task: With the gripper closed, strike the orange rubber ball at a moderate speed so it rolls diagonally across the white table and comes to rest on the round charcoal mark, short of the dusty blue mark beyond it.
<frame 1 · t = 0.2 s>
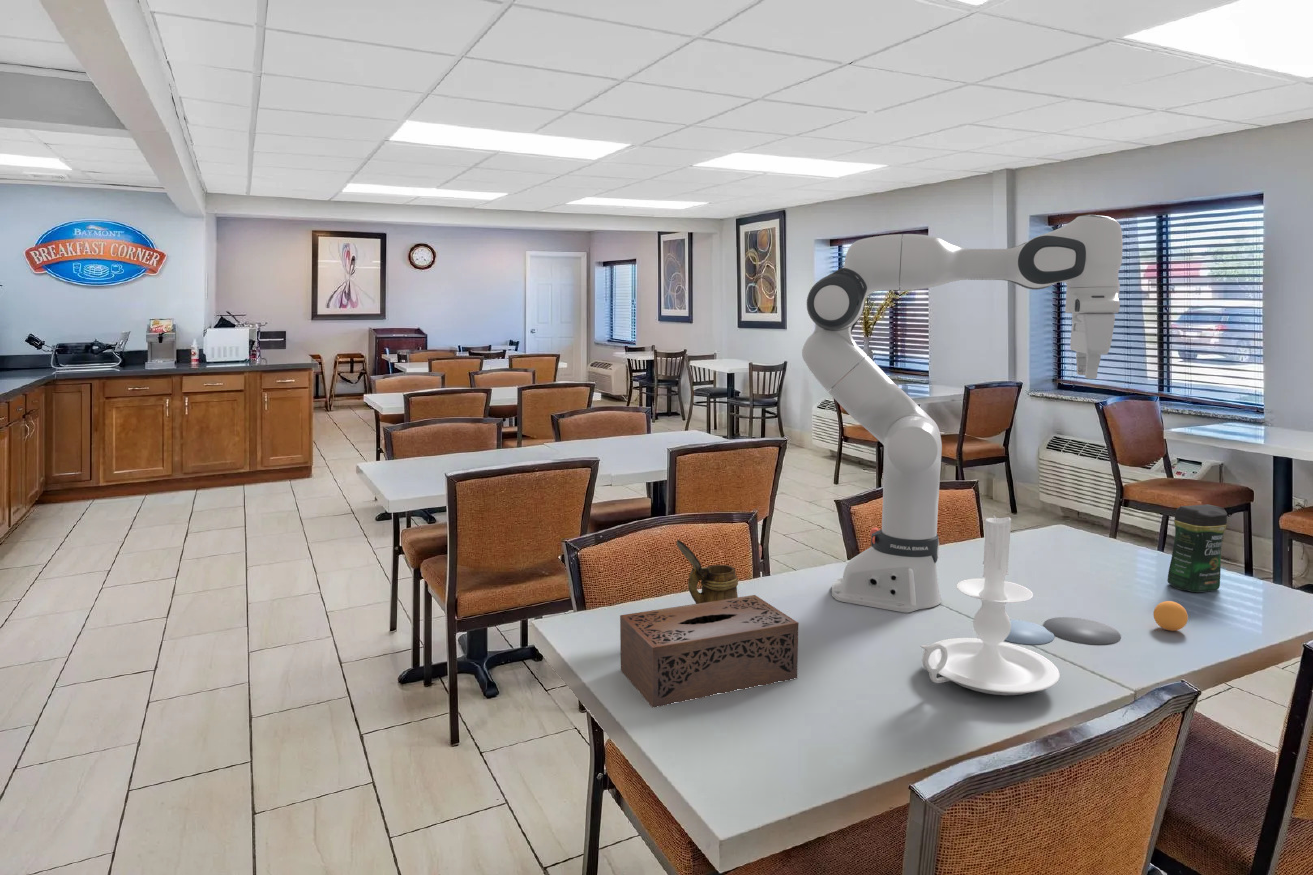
hand: (1086, 376, 154), 48 cm above the table, tool pointing down, fingers open, 8 cm apart
coffee jar: (1193, 588, 176), on the table
candlestick: (978, 684, 131), on the table
ball: (1170, 615, 152), on the table
tissue box cover: (707, 677, 134), on the table
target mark: (1081, 630, 152), on the table
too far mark: (1018, 631, 152), on the table
wooden mug: (708, 627, 155), on the table
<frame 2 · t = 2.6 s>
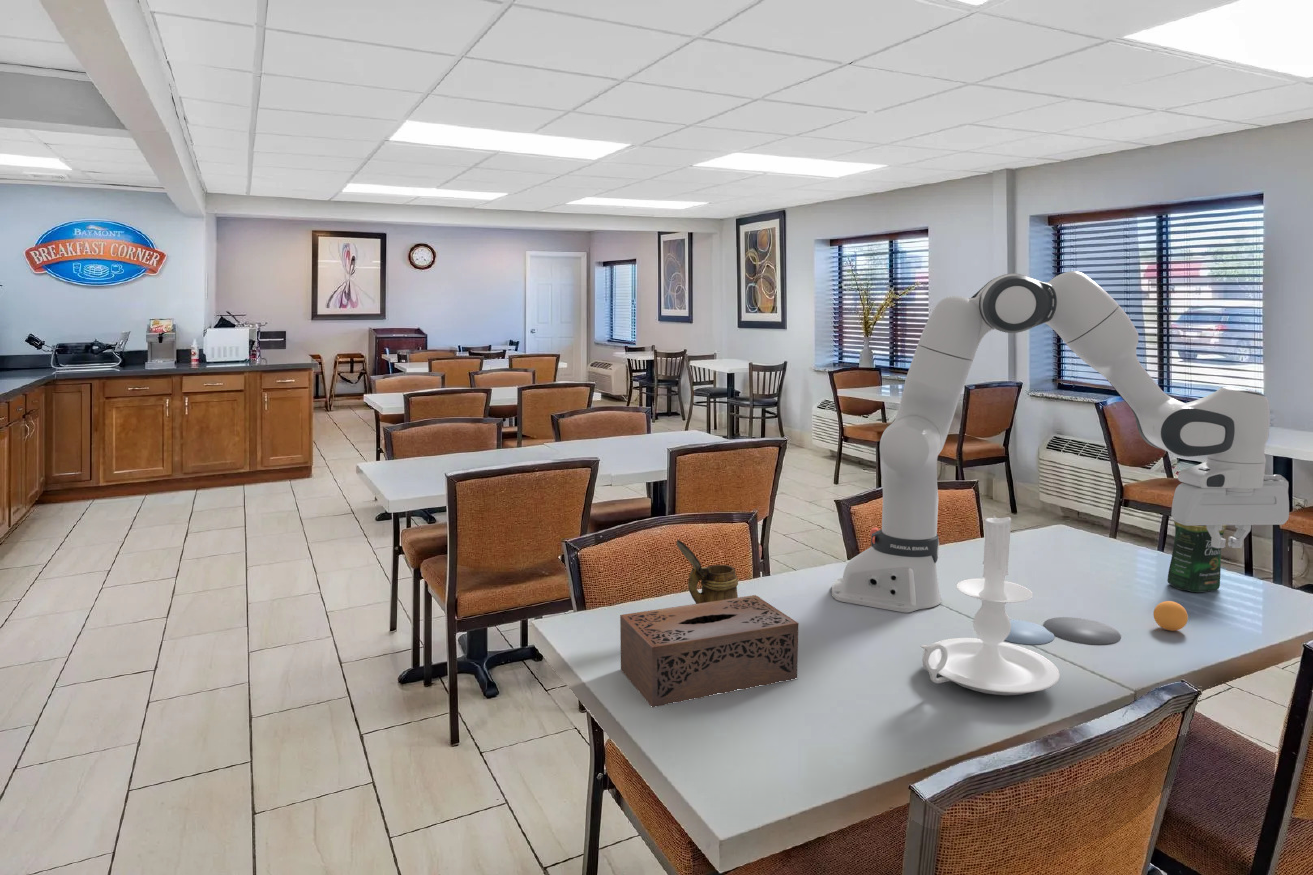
hand: (1226, 547, 150), 16 cm above the table, tool pointing down, fingers closed
nothing on the table moved.
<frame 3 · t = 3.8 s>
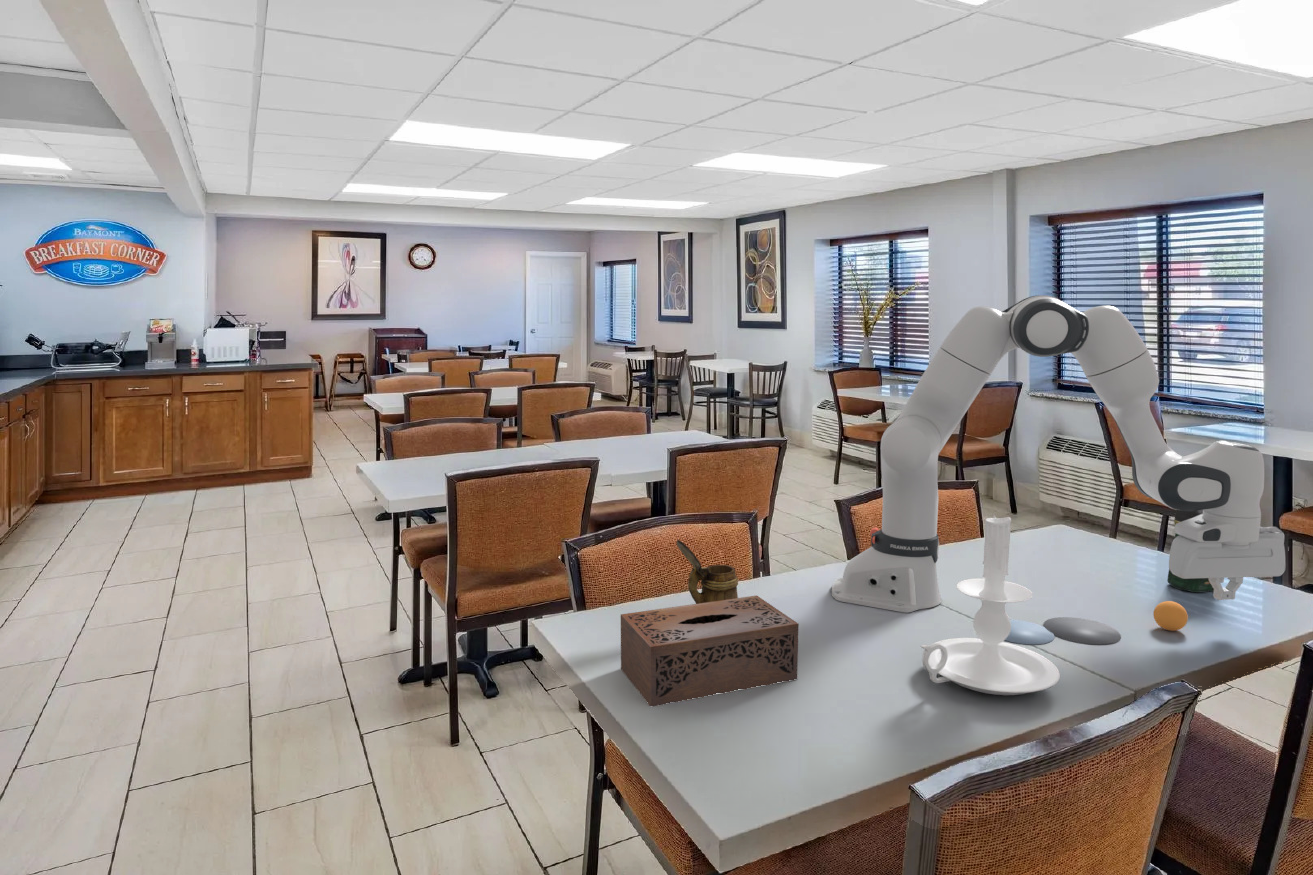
hand: (1223, 598, 152), 6 cm above the table, tool pointing down, fingers closed
nothing on the table moved.
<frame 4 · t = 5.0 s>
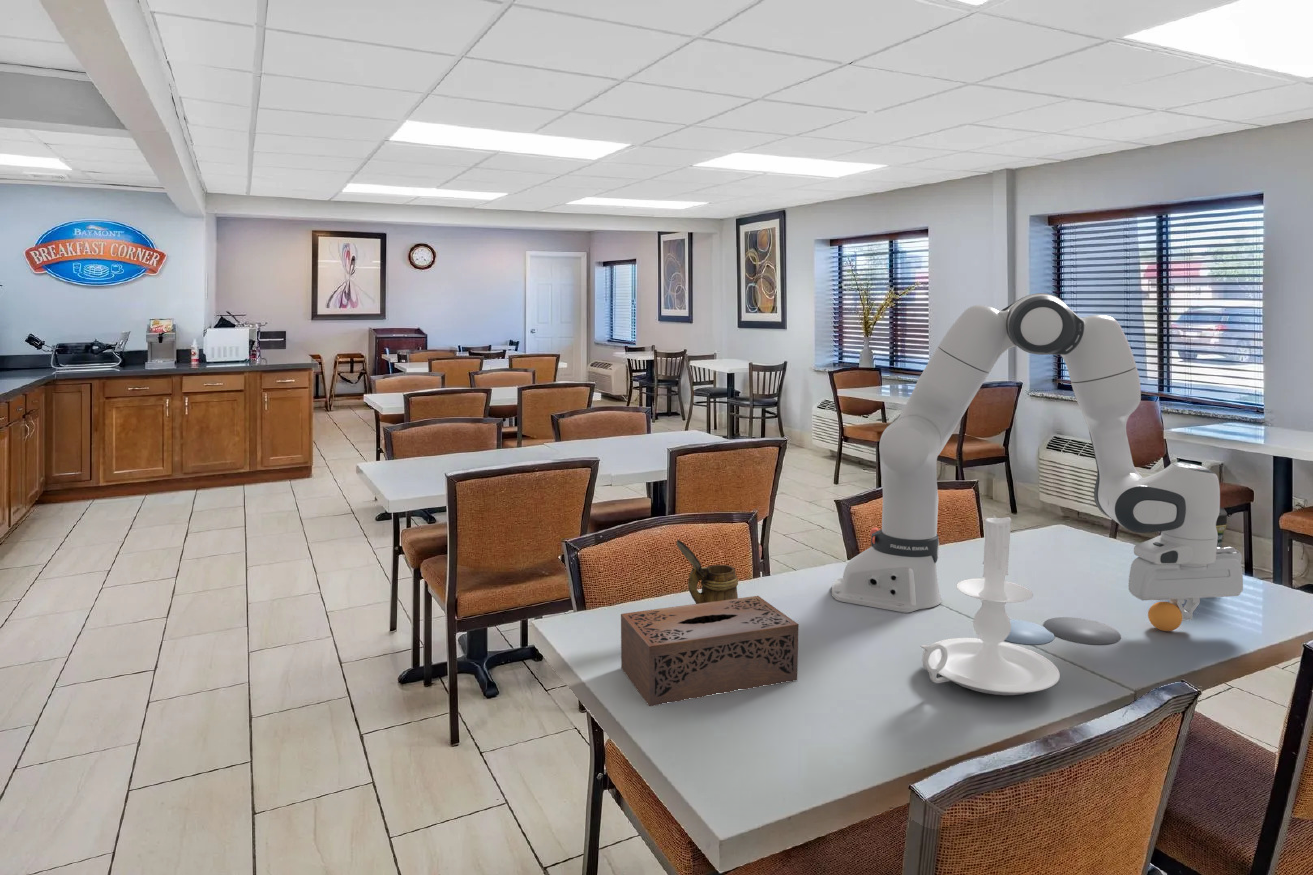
hand: (1183, 619, 153), 2 cm above the table, tool pointing down, fingers closed
ball: (1165, 616, 152), on the table, touching gripper
everything else where it was.
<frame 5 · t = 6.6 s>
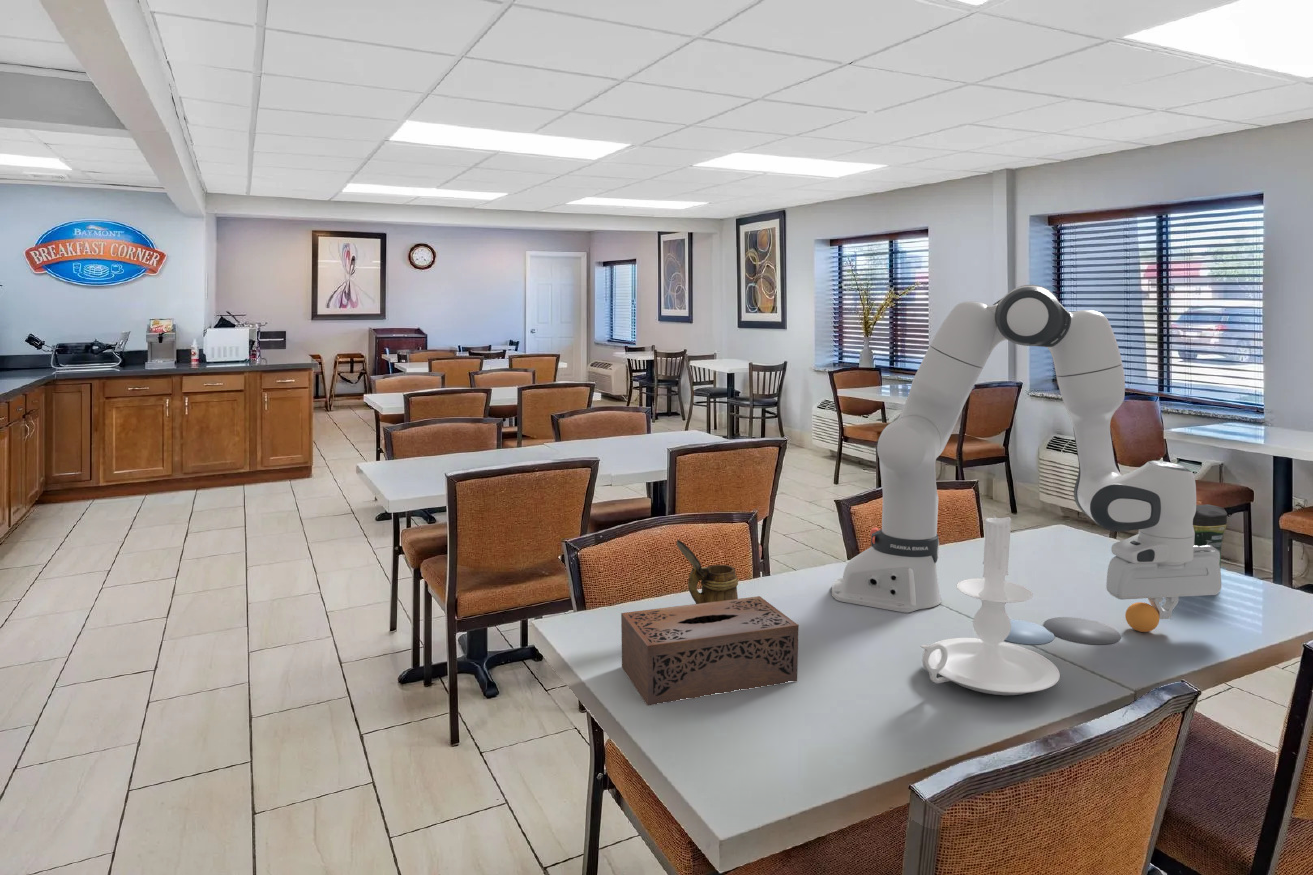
hand: (1162, 618, 152), 2 cm above the table, tool pointing down, fingers closed
ball: (1142, 617, 152), on the table, touching gripper
everything else where it was.
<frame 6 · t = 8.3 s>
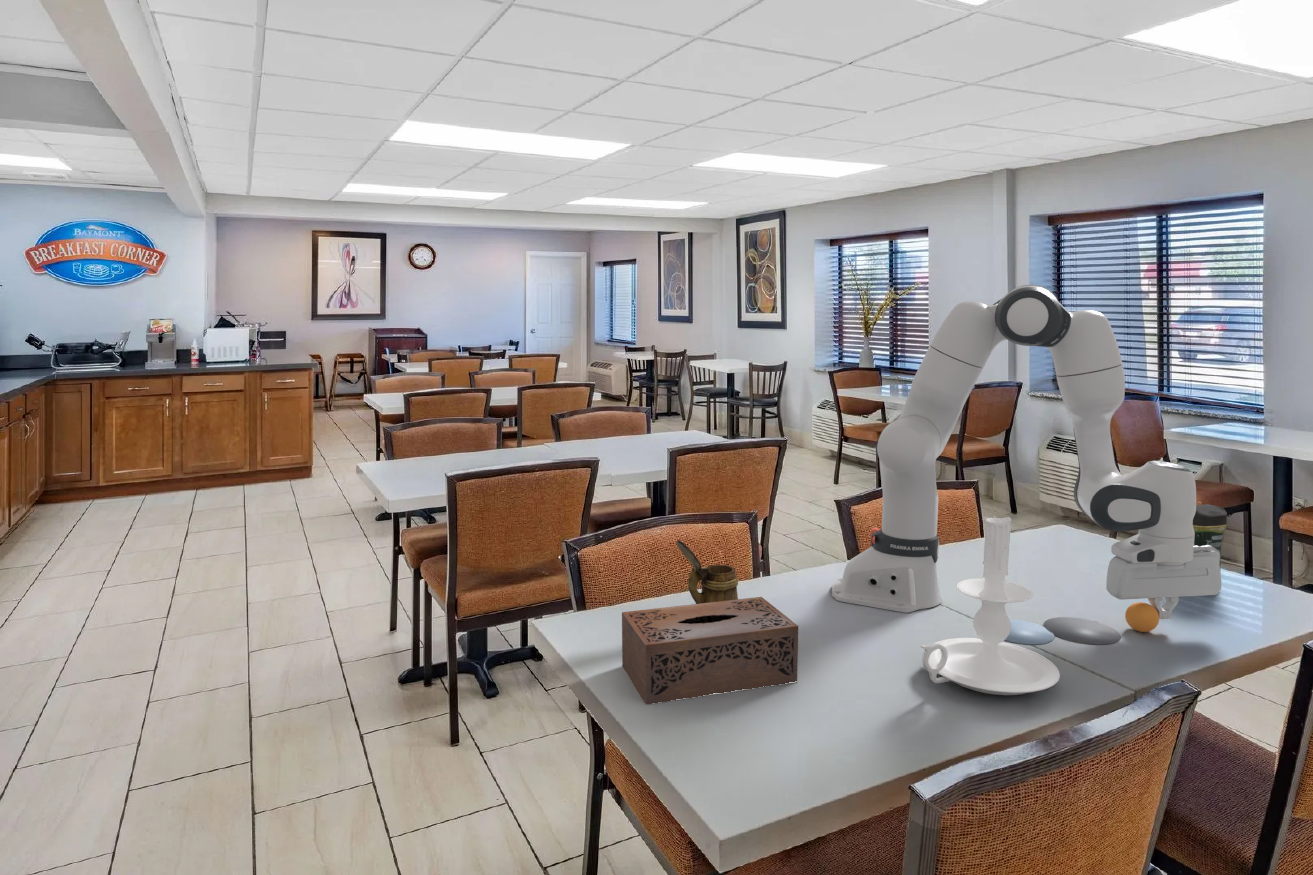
hand: (1162, 618, 152), 2 cm above the table, tool pointing down, fingers closed
nothing on the table moved.
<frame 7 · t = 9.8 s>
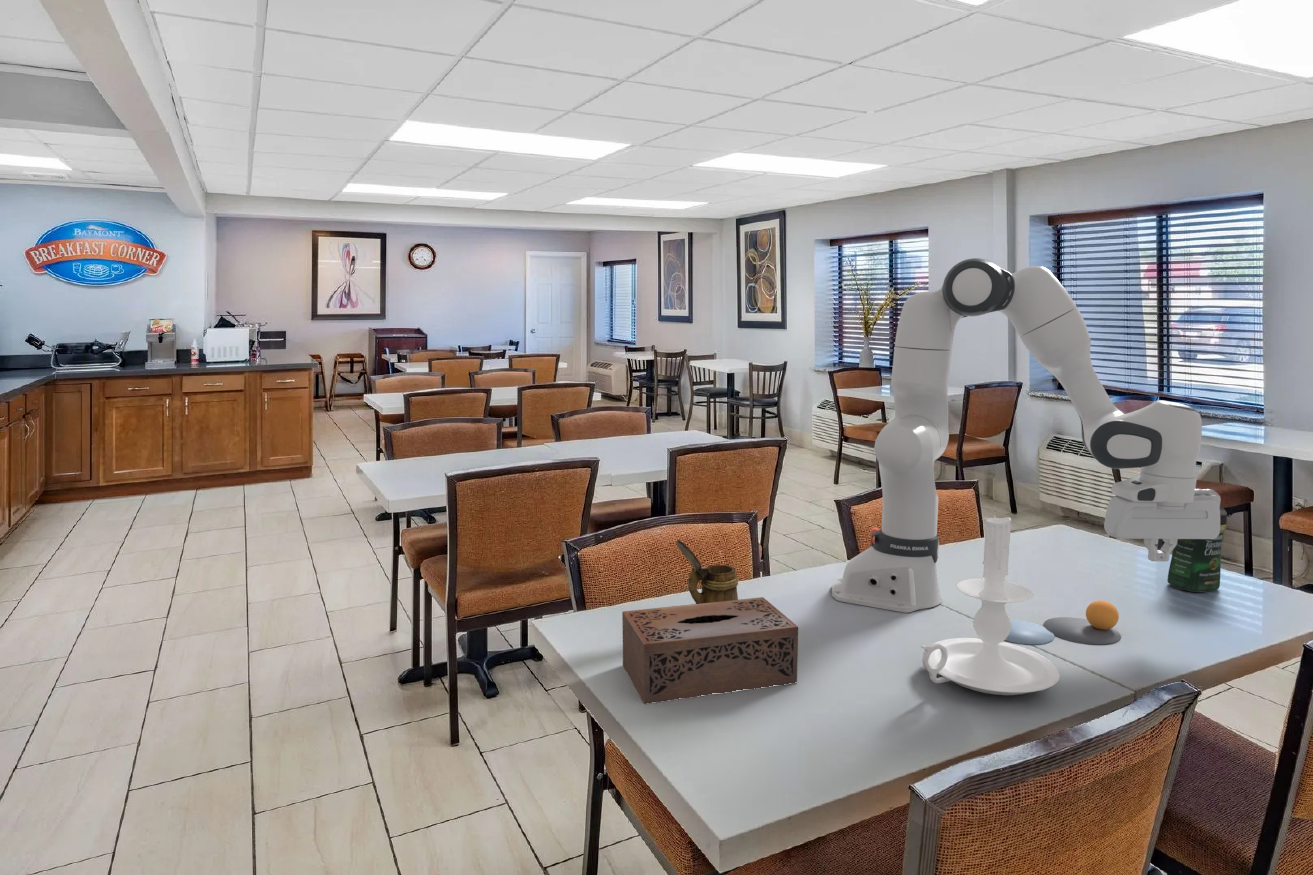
hand: (1157, 560, 151), 14 cm above the table, tool pointing down, fingers closed
ball: (1102, 614, 153), on the table
everything else where it was.
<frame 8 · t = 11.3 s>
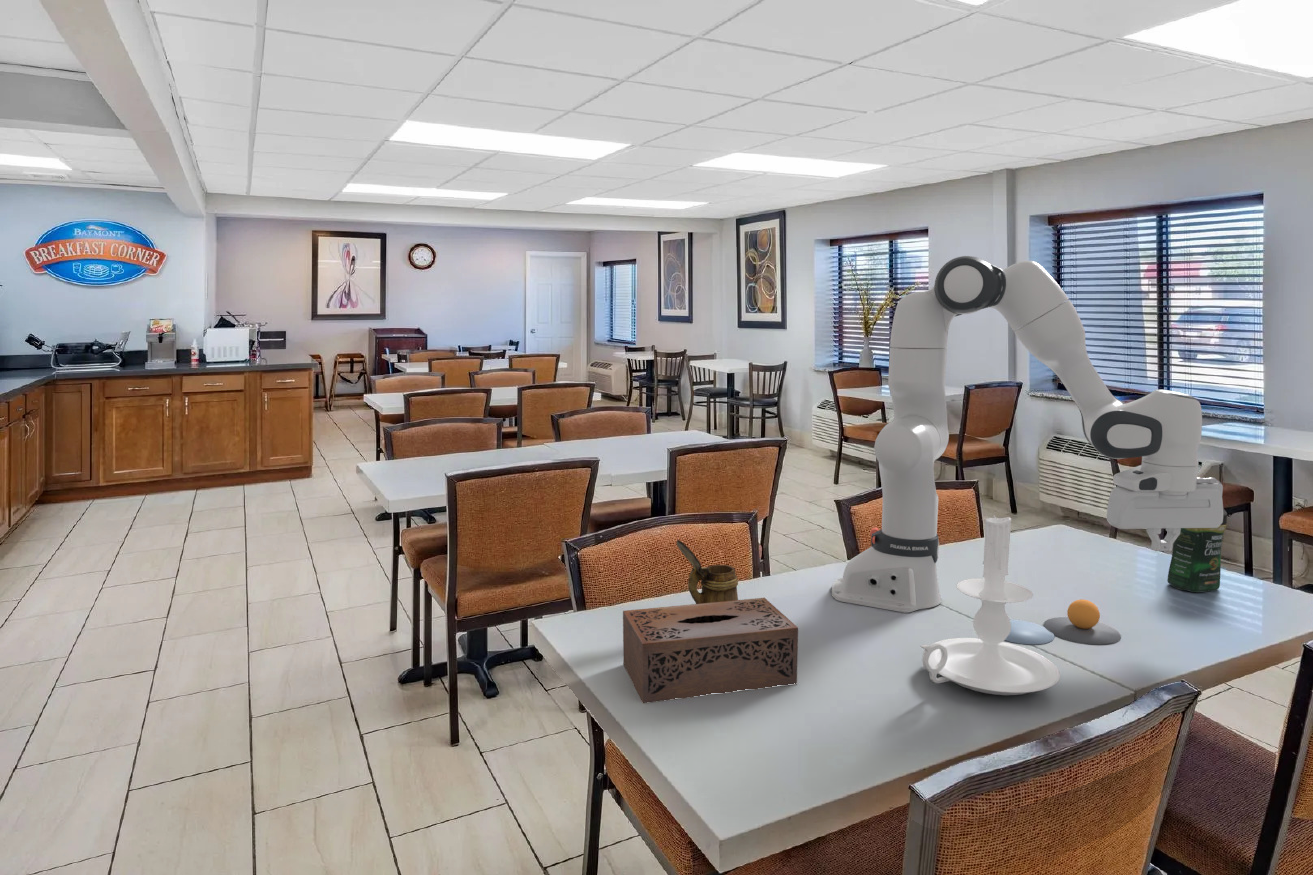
hand: (1161, 550, 150), 16 cm above the table, tool pointing down, fingers closed
ball: (1083, 613, 153), on the table
at the end: ball 1.9 cm from the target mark (horizontally); ball at rest at the end (0.0 cm/s); ball moved 16.0 cm from its start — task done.
